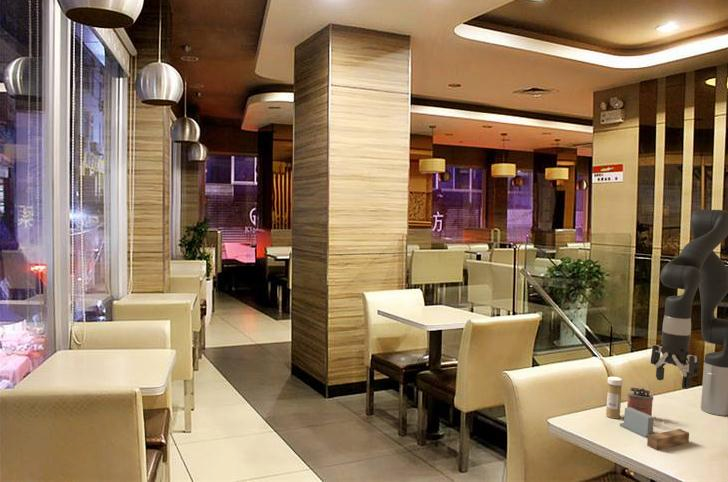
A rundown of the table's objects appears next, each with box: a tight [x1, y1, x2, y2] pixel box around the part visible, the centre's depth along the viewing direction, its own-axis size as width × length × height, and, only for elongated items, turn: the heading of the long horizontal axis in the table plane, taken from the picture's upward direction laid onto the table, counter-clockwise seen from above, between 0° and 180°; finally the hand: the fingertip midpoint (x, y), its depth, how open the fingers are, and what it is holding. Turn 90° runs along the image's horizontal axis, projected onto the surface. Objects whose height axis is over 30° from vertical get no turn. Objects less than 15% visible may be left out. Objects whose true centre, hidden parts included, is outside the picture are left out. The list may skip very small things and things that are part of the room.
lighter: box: [626, 386, 654, 417], centre depth 199 cm, size 8×3×10 cm, turn 71°
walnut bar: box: [646, 428, 690, 451], centre depth 176 cm, size 14×3×4 cm, turn 114°
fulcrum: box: [619, 407, 658, 439], centre depth 186 cm, size 5×10×6 cm, turn 24°
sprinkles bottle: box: [605, 376, 623, 420], centre depth 197 cm, size 5×5×13 cm
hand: (672, 383), depth 175 cm, fingers open, 8 cm apart
